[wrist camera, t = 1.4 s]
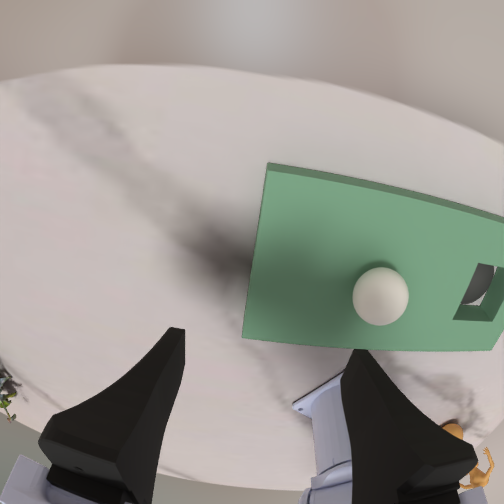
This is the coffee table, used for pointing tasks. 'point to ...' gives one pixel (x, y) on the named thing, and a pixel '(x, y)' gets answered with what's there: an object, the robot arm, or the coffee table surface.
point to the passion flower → (3, 401)
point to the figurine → (475, 474)
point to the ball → (380, 296)
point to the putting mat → (371, 265)
